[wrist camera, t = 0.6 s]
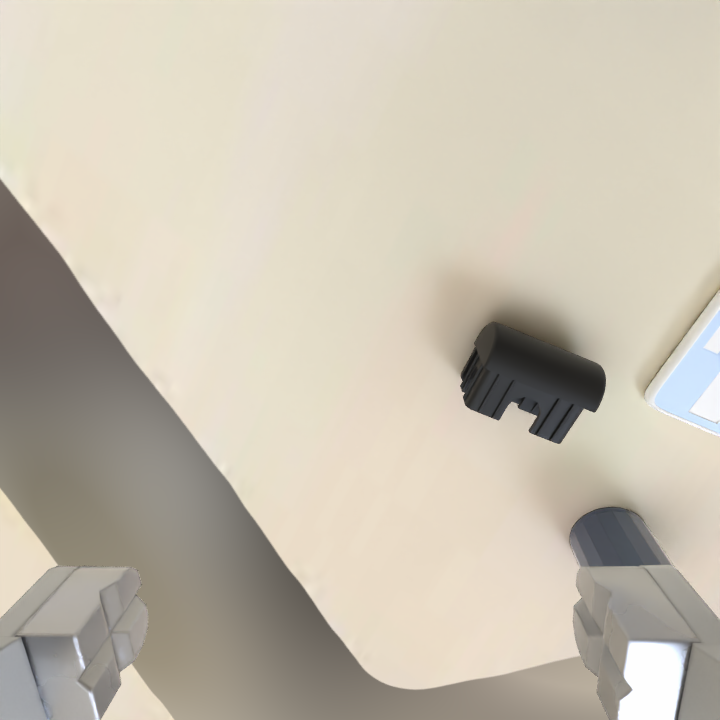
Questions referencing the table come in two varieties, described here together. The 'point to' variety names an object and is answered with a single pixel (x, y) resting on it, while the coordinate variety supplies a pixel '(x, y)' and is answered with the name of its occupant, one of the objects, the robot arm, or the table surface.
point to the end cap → (530, 380)
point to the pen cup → (615, 540)
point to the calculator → (692, 375)
